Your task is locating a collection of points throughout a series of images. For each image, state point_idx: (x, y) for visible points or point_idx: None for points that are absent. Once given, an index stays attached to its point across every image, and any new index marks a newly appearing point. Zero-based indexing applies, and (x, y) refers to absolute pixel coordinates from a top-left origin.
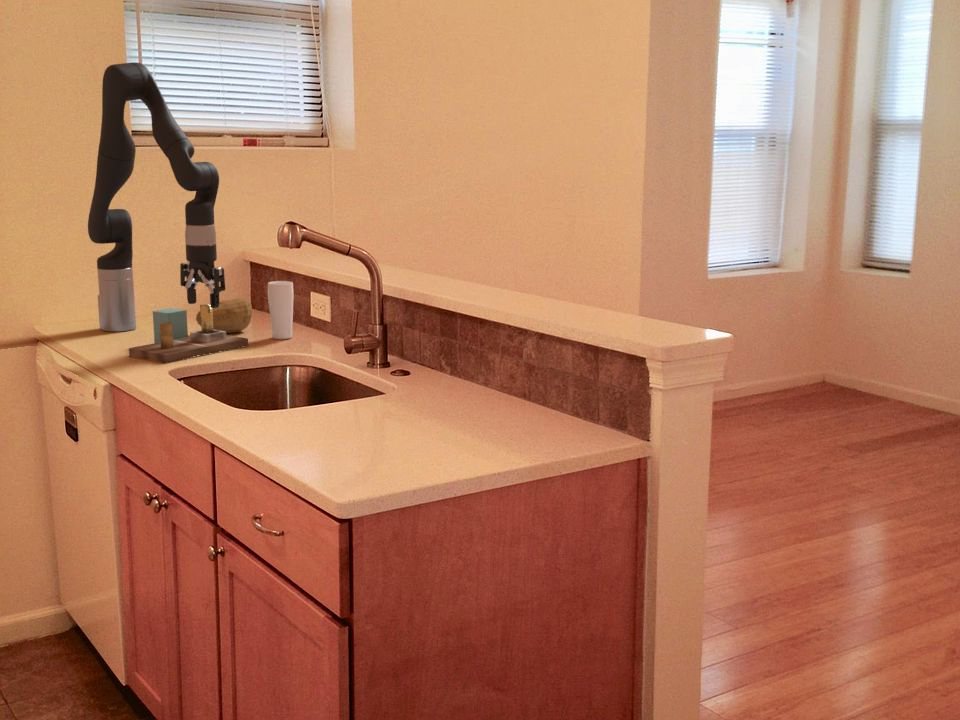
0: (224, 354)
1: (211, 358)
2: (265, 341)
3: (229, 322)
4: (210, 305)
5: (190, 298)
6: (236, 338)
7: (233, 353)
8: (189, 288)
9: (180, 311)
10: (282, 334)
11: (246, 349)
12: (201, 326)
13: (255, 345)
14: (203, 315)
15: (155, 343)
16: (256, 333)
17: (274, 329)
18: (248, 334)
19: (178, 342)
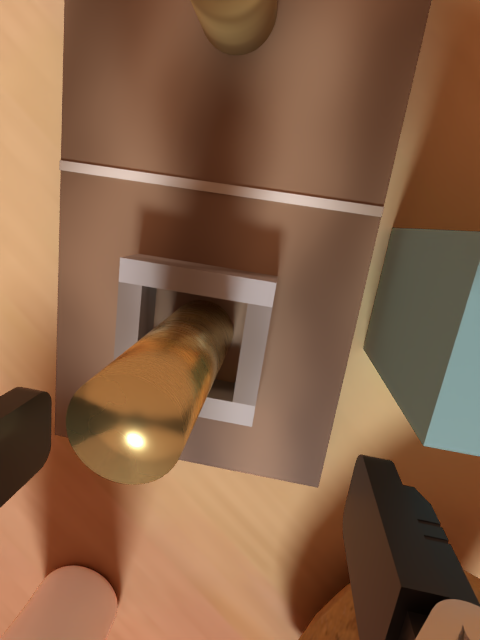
0: (26, 222)
1: (3, 111)
2: (90, 521)
3: (315, 631)
4: (32, 395)
5: (368, 499)
6: None
7: (10, 261)
8: (426, 637)
9: (441, 382)
10: (40, 585)
11: (31, 358)
12: (202, 325)
13: (63, 441)
14: (146, 342)
15: (402, 79)
16: (238, 635)
17: (60, 600)
18: (253, 610)
19: (290, 184)
